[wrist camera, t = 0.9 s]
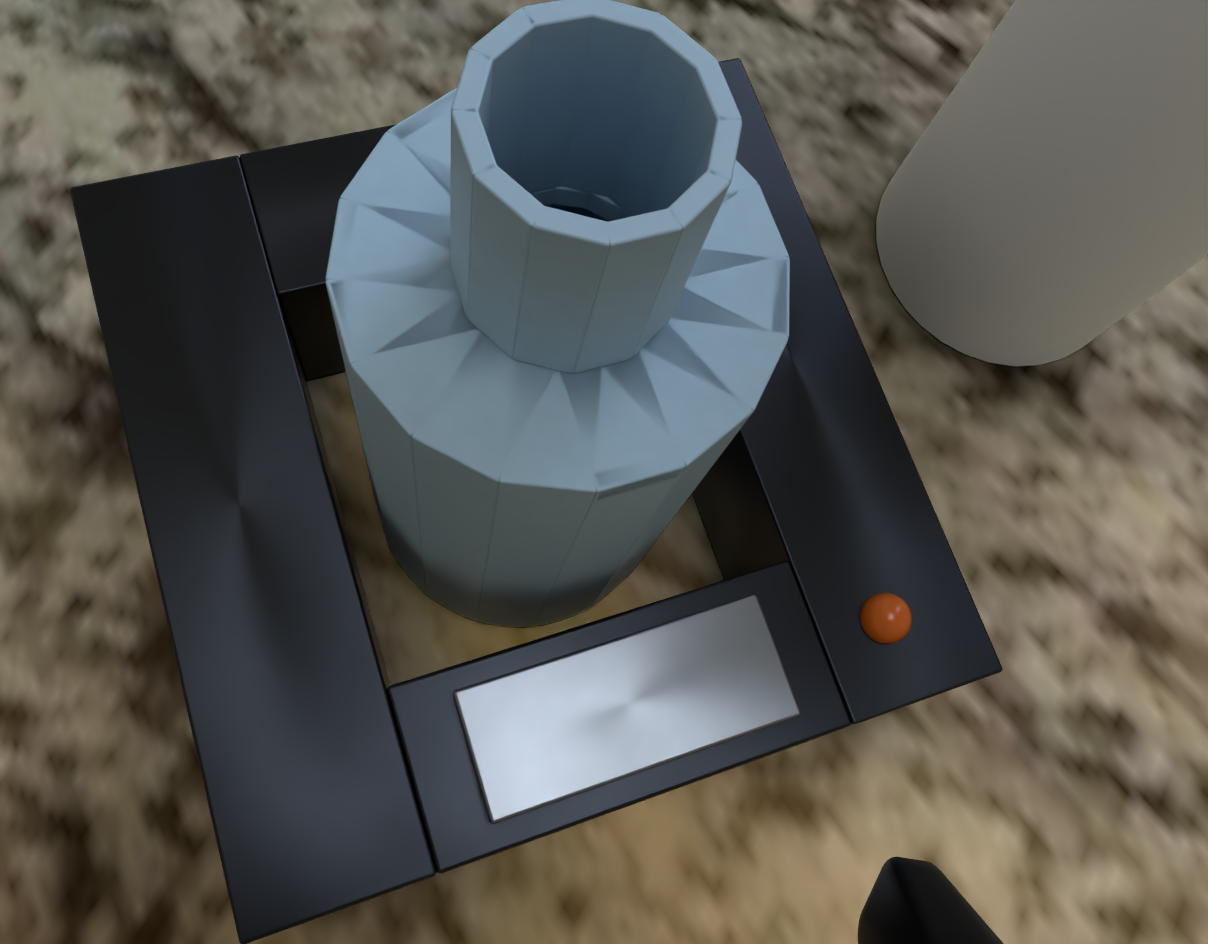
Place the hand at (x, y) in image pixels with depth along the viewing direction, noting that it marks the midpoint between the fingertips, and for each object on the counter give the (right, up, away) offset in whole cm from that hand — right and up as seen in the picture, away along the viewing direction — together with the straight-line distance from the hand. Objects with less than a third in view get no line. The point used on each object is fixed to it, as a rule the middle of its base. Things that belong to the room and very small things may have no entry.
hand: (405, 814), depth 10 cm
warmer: (0, +3, +16) cm, 16 cm away
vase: (0, +3, +16) cm, 16 cm away
